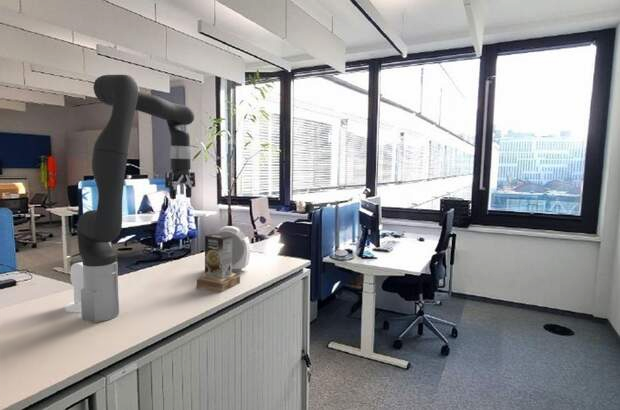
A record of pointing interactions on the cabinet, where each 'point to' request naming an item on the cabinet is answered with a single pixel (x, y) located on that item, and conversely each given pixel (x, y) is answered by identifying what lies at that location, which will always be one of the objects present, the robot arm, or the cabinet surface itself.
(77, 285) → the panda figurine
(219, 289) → the brown flat block
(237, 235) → the alarm clock
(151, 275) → the cabinet surface
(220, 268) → the coffee box
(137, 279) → the cabinet surface
